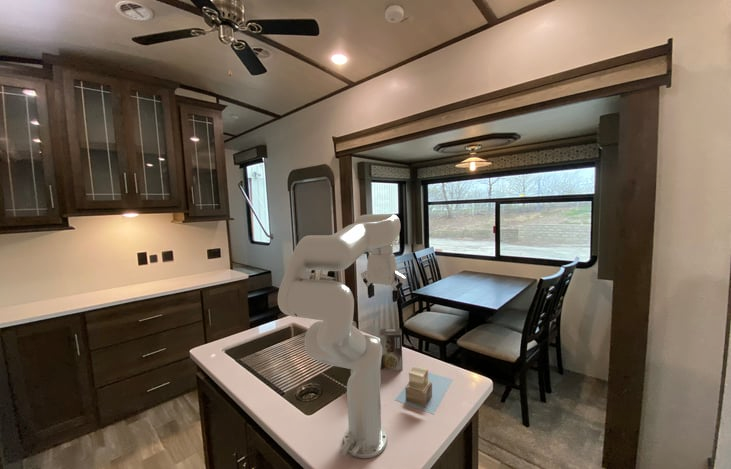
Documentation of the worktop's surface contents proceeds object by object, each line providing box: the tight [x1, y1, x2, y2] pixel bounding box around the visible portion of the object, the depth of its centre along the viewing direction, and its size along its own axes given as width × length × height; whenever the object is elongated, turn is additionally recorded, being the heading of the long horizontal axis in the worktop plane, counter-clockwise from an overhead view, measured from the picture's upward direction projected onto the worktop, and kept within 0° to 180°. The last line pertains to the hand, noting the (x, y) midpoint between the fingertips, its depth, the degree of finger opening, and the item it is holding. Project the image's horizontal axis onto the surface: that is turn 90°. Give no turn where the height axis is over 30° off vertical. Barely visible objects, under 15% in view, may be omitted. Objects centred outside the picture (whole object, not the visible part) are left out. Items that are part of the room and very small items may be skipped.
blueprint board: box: [394, 371, 453, 415], centre depth 104 cm, size 22×14×6 cm, turn 147°
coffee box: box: [379, 328, 404, 372], centre depth 120 cm, size 9×6×16 cm
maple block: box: [408, 365, 429, 391], centre depth 99 cm, size 5×5×5 cm
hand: (383, 298), depth 99 cm, fingers open, 9 cm apart
